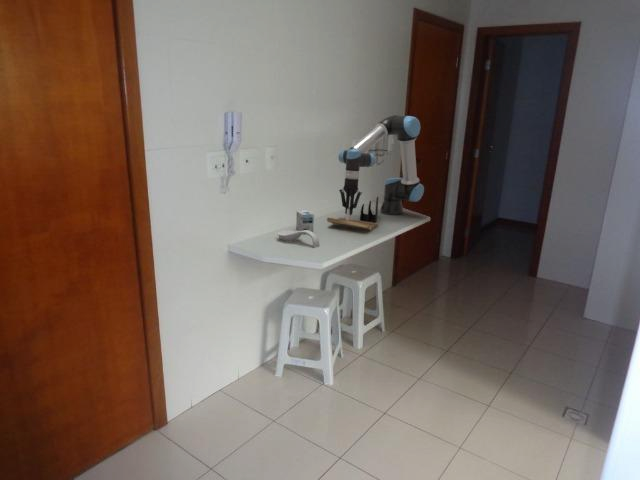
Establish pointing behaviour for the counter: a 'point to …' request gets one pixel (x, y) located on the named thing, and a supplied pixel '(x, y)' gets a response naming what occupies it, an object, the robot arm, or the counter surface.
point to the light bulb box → (304, 220)
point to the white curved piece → (295, 235)
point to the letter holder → (369, 213)
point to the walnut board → (374, 225)
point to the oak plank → (349, 223)
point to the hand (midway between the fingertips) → (348, 219)
